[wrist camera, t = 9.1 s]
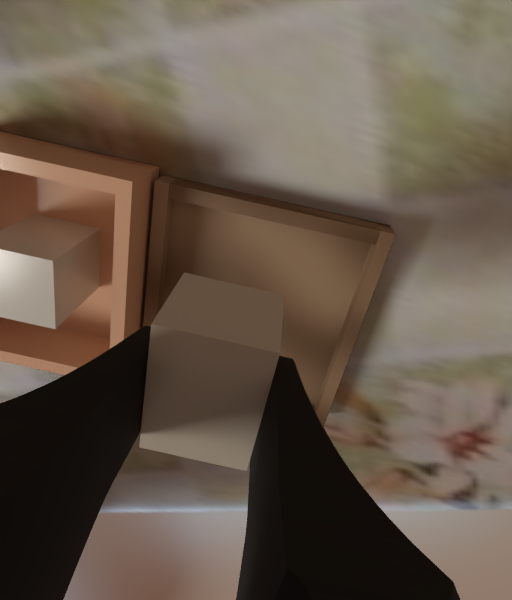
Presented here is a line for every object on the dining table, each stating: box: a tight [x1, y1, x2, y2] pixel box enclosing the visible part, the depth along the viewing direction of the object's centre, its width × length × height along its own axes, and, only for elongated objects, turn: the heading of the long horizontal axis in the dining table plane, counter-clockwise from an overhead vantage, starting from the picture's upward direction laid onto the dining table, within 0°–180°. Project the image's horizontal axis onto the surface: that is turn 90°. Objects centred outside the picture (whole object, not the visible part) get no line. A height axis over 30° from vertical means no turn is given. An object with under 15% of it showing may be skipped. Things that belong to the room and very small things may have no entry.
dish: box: [0, 131, 160, 375], centre depth 18 cm, size 10×8×3 cm
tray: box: [143, 175, 395, 426], centre depth 20 cm, size 11×10×1 cm
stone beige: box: [139, 273, 284, 471], centre depth 12 cm, size 4×3×3 cm
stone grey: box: [0, 214, 100, 329], centre depth 17 cm, size 4×3×3 cm
